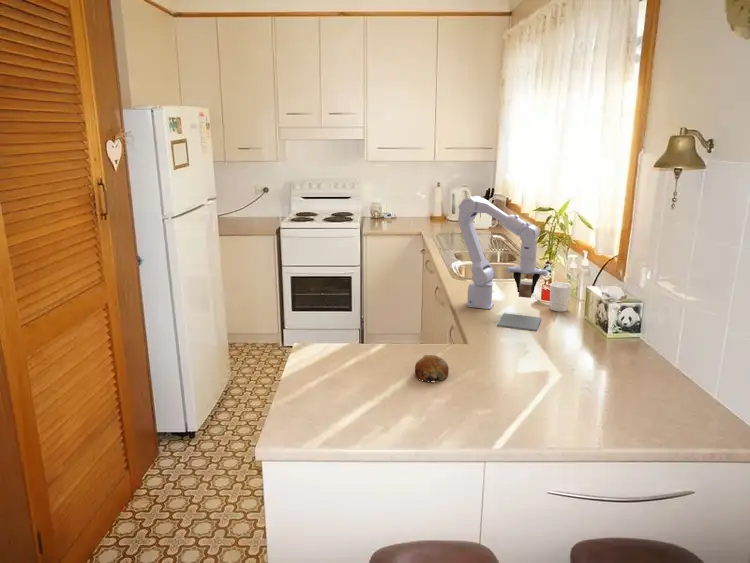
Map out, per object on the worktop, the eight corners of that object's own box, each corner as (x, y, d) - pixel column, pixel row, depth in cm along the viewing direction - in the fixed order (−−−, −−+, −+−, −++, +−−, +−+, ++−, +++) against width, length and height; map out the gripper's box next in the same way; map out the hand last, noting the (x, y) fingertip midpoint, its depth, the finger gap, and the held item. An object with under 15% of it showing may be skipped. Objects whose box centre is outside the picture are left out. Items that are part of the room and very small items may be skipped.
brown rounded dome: (450, 386, 167) (454, 359, 168) (440, 385, 158) (445, 356, 159) (418, 380, 171) (423, 353, 172) (407, 378, 162) (412, 351, 163)
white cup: (566, 306, 228) (568, 282, 225) (571, 312, 220) (573, 287, 217) (546, 305, 228) (548, 281, 226) (550, 311, 221) (552, 287, 218)
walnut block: (518, 296, 217) (519, 284, 215) (520, 293, 221) (521, 281, 219) (530, 297, 215) (531, 285, 214) (532, 294, 219) (533, 282, 218)
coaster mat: (496, 326, 205) (497, 324, 205) (503, 314, 218) (503, 313, 218) (536, 331, 200) (536, 329, 200) (541, 319, 213) (541, 317, 213)
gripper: (506, 258, 213) (504, 292, 217) (546, 261, 208) (543, 297, 211) (509, 254, 219) (507, 288, 223) (548, 257, 214) (546, 292, 218)
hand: (525, 292), depth 217 cm, fingers closed on walnut block, 4 cm apart
